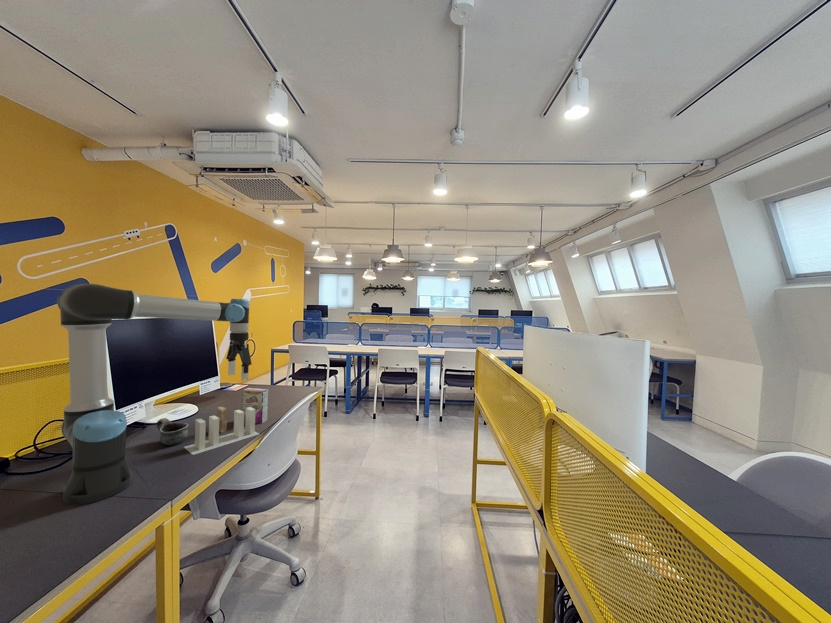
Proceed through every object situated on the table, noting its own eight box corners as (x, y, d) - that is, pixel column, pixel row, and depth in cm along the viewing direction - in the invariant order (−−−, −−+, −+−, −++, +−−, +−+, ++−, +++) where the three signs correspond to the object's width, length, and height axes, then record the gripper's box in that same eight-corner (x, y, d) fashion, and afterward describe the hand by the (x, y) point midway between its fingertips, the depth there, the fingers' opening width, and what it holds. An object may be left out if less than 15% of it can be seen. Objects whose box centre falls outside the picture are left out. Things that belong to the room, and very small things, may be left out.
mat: (192, 455, 119) (192, 454, 119) (183, 448, 125) (183, 447, 125) (259, 434, 140) (259, 433, 140) (249, 428, 146) (249, 428, 146)
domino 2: (213, 445, 127) (214, 419, 127) (208, 442, 130) (209, 416, 130) (218, 444, 129) (219, 418, 129) (213, 440, 132) (214, 415, 132)
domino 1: (199, 450, 123) (200, 423, 123) (194, 446, 126) (195, 419, 126) (205, 448, 125) (205, 421, 125) (200, 444, 128) (200, 418, 128)
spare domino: (221, 433, 140) (222, 409, 140) (217, 430, 143) (217, 407, 143) (226, 432, 142) (227, 408, 141) (221, 429, 145) (222, 406, 144)
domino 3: (238, 438, 135) (239, 413, 135) (233, 434, 138) (234, 410, 138) (243, 436, 137) (244, 412, 137) (238, 433, 140) (238, 409, 140)
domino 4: (250, 434, 140) (251, 410, 139) (245, 431, 142) (245, 407, 142) (254, 433, 141) (255, 409, 141) (249, 430, 144) (250, 406, 144)
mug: (176, 449, 124) (176, 424, 124) (145, 447, 124) (145, 423, 124) (193, 438, 134) (194, 416, 134) (164, 437, 134) (165, 414, 134)
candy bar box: (240, 422, 153) (241, 390, 153) (247, 419, 158) (248, 387, 158) (262, 424, 152) (263, 391, 152) (267, 420, 157) (268, 388, 157)
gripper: (260, 333, 138) (259, 380, 139) (236, 329, 153) (234, 371, 154) (243, 334, 132) (241, 383, 133) (219, 330, 147) (218, 374, 148)
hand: (238, 377), depth 143 cm, fingers open, 13 cm apart
